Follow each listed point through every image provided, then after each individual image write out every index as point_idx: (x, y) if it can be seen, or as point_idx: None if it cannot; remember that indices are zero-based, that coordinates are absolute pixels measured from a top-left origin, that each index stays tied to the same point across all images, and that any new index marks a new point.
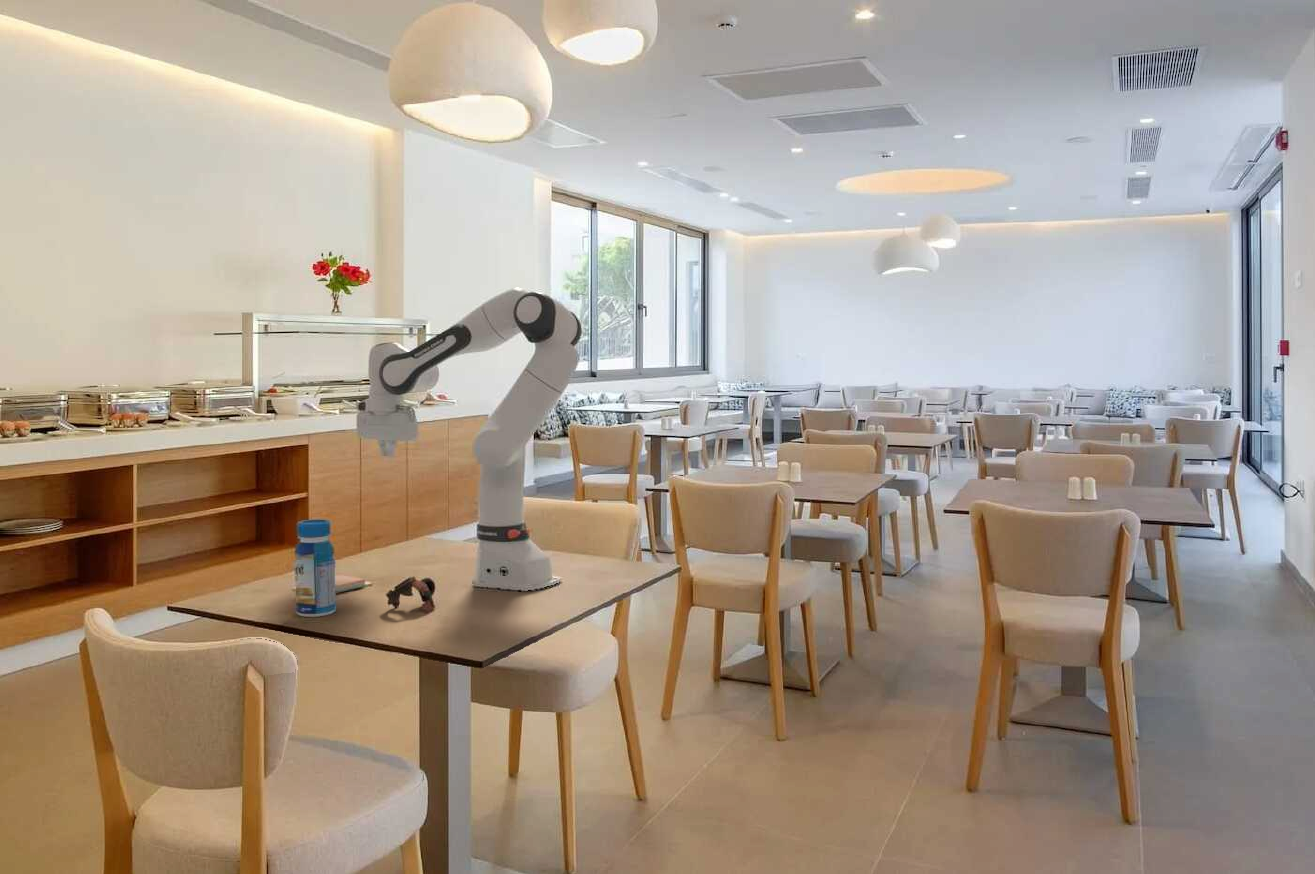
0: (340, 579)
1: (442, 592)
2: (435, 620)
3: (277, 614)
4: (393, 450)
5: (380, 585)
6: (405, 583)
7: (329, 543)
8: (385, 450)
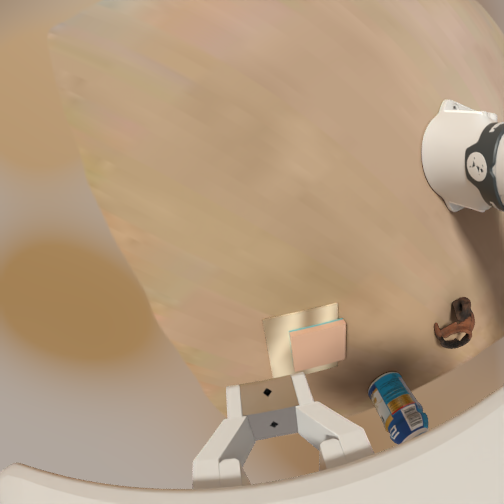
0: (318, 346)
1: (438, 257)
2: (478, 315)
3: (356, 406)
4: (319, 407)
5: (349, 296)
6: (468, 341)
7: (427, 424)
8: (259, 432)
